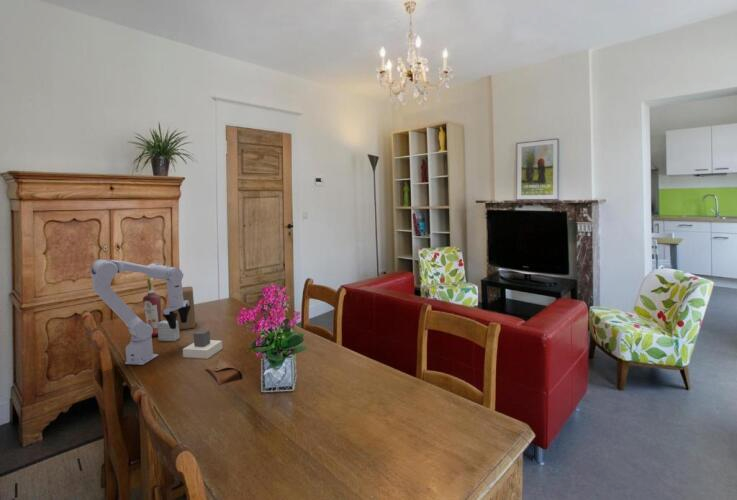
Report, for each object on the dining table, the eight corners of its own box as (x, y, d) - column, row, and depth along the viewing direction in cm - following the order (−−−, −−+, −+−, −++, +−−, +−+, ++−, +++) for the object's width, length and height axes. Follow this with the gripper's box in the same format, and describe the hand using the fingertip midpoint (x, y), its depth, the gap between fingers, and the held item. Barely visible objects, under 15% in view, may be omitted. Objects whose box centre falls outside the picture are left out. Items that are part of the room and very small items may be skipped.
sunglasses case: (202, 369, 148) (210, 352, 150) (219, 373, 153) (226, 356, 154) (219, 385, 135) (228, 367, 136) (237, 389, 139) (245, 371, 141)
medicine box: (180, 338, 183) (178, 320, 182) (174, 341, 178) (172, 323, 177) (164, 337, 184) (162, 320, 183) (158, 341, 179) (156, 323, 178)
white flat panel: (207, 359, 158) (207, 350, 158) (183, 358, 160) (182, 349, 160) (222, 349, 169) (221, 340, 169) (199, 348, 171) (198, 339, 171)
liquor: (167, 332, 191) (162, 276, 187) (157, 338, 184) (152, 279, 180) (153, 332, 192) (147, 276, 188) (143, 337, 184) (137, 279, 181)
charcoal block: (204, 346, 162) (203, 334, 161) (194, 346, 163) (193, 333, 162) (210, 342, 166) (209, 330, 165) (200, 342, 167) (199, 330, 166)
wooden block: (174, 325, 202) (171, 287, 199) (195, 322, 206) (192, 285, 203) (173, 331, 193) (170, 292, 190) (195, 328, 197) (192, 289, 194)
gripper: (173, 299, 159) (176, 331, 161) (193, 290, 173) (196, 320, 175) (157, 299, 160) (161, 331, 162) (179, 290, 174) (182, 320, 176)
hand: (178, 325), depth 168 cm, fingers open, 7 cm apart
